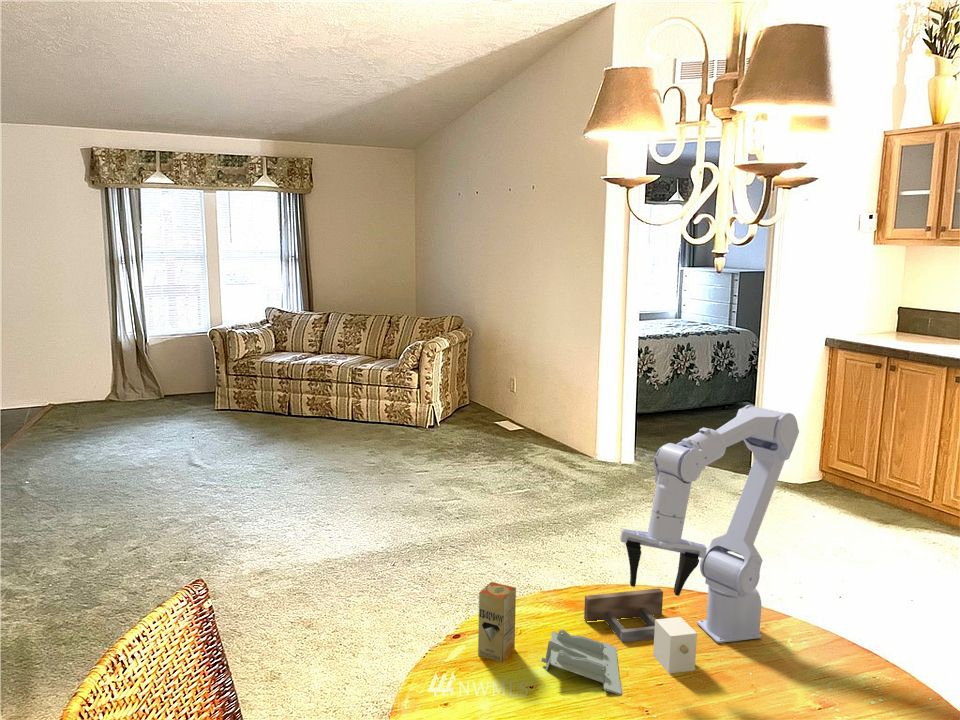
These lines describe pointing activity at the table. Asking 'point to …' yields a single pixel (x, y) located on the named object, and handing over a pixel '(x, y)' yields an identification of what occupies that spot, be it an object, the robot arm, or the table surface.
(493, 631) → the shoe polish box
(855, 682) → the table surface
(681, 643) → the cabinet block
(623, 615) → the board
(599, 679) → the metal bracket
